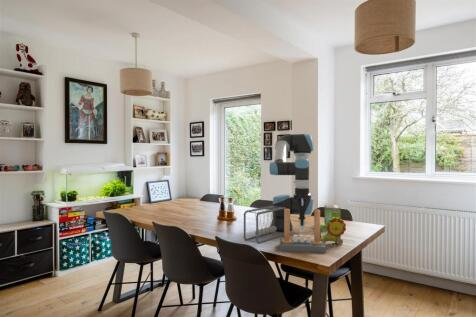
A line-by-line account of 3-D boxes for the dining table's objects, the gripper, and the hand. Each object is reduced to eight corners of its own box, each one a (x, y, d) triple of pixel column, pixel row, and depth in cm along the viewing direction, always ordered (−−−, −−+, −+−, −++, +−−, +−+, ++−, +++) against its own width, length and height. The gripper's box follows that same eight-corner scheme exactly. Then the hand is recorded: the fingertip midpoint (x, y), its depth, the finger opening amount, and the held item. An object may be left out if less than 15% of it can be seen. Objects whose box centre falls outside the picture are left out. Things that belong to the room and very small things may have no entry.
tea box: (340, 229, 218) (340, 207, 218) (325, 228, 220) (325, 207, 220) (338, 224, 233) (338, 204, 233) (324, 224, 235) (324, 204, 235)
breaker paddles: (293, 241, 176) (293, 234, 176) (310, 242, 174) (310, 235, 174) (293, 242, 174) (293, 235, 174) (310, 243, 173) (310, 236, 172)
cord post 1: (282, 240, 178) (282, 208, 178) (291, 241, 177) (291, 208, 177) (282, 243, 173) (282, 209, 173) (291, 243, 173) (291, 210, 172)
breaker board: (279, 244, 182) (279, 239, 182) (323, 246, 178) (323, 240, 178) (279, 250, 170) (279, 245, 170) (326, 252, 166) (326, 247, 166)
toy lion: (319, 245, 180) (319, 218, 180) (316, 242, 186) (316, 216, 186) (347, 245, 181) (347, 218, 181) (343, 242, 186) (343, 216, 186)
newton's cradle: (273, 232, 212) (273, 205, 212) (286, 234, 205) (286, 206, 205) (243, 241, 189) (243, 211, 189) (257, 244, 182) (257, 213, 182)
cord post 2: (312, 242, 176) (312, 209, 176) (321, 242, 175) (321, 209, 175) (312, 244, 171) (312, 210, 171) (322, 245, 170) (322, 211, 170)
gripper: (294, 186, 181) (294, 228, 181) (295, 188, 168) (295, 233, 168) (308, 186, 180) (308, 228, 180) (309, 188, 167) (309, 234, 167)
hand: (301, 231), depth 174 cm, fingers closed
